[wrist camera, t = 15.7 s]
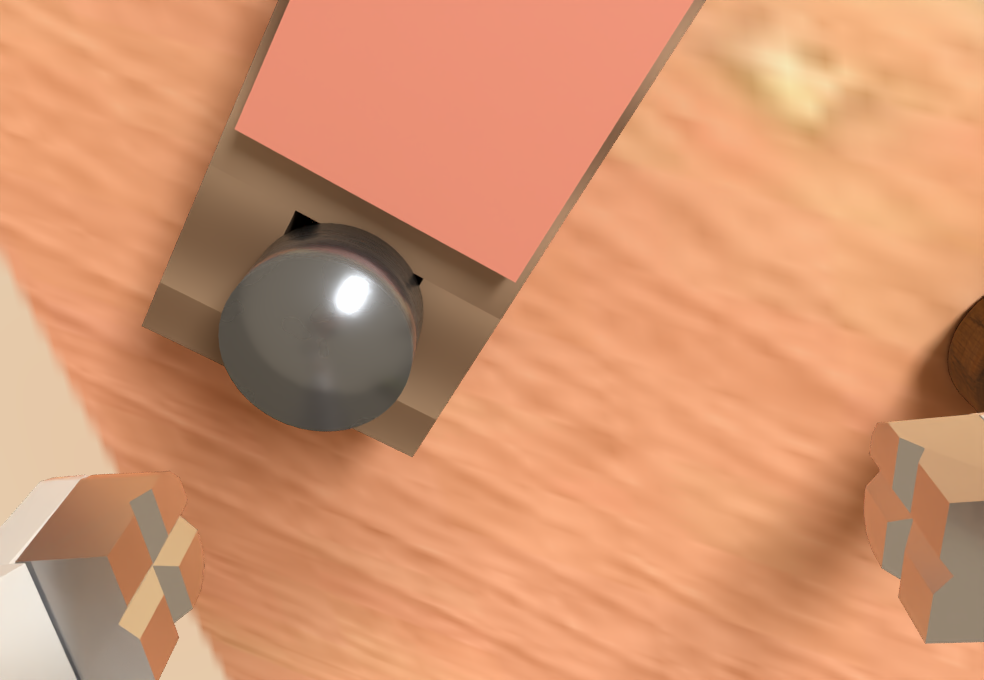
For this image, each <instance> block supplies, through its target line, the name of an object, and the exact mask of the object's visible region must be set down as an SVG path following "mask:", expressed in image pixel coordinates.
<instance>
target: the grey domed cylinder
mask: <svg viewBox="0 0 984 680" xmlns="http://www.w3.org/2000/svg"><path fill="white" fill-rule="evenodd" d="M423 313H424V307H423V298H422V294H421V290H420V286H419V284H418V281H417V279H416V277H415V275H414V273H413V271H412V269H411V268H410V266H409V265H408V264H407V262H406V261H405V259H404V258H403V257H402V256H401V255H400V254H399V253H398V252H397V251H396V250H395V249H394V248H393V247H392V246H390V245H389V244H388V243H387V242H385V241H384V240H382V239H381V238H379V237H377V236H376V235H374V234H372V233H369V232H367V231H365V230H362V229H360V228H357V227H354V226H349V225H344V224H336V223H318V224H312V225H306V226H303V227H300V228H297V229H294V230H292V231H290V232H288V233H286V234H284V235H283V236H281V237H280V238H278V239H277V240H276V241H275V242H273V243H272V244H271V245H270V246H269V247H268V248H267V249H266V251H265V252H264V253H263V254H262V255H261V257H260V258H259V259H258V260H257V262H256V263H255V264H254V266H253V267H252V268H251V269H250V271H249V272H248V273H247V274H246V276H245V277H244V278H243V279H242V281H241V282H240V283H239V284H238V286H237V287H236V288H235V289H234V291H233V292H232V293H231V295H230V297H229V298H228V300H227V302H226V304H225V306H224V309H223V311H222V314H221V318H220V323H219V334H218V337H219V348H220V352H221V357H222V360H223V363H224V365H225V368H226V370H227V372H228V374H229V376H230V378H231V380H232V381H233V382H234V384H235V385H236V387H237V388H238V390H239V391H240V392H241V393H242V394H243V395H244V396H245V397H246V398H247V399H248V400H249V401H250V402H251V403H252V404H253V405H254V406H256V407H257V408H258V409H260V410H261V411H263V412H264V413H265V414H267V415H269V416H271V417H272V418H274V419H276V420H278V421H281V422H283V423H285V424H288V425H291V426H294V427H297V428H301V429H307V430H312V431H339V430H346V429H350V428H354V427H358V426H360V425H363V424H365V423H368V422H370V421H372V420H373V419H375V418H377V417H379V416H380V415H381V414H383V413H384V412H385V411H386V410H388V409H389V408H390V407H391V406H392V405H393V404H394V403H395V401H396V400H397V399H398V397H399V396H400V395H401V393H402V391H403V389H404V387H405V385H406V383H407V380H408V378H409V375H410V371H411V367H412V363H413V359H414V356H415V352H416V348H417V344H418V340H419V336H420V332H421V328H422V323H423Z"/></svg>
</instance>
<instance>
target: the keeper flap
mask: <svg viewBox="0 0 984 680" xmlns="http://www.w3.org/2000/svg"><path fill="white" fill-rule="evenodd" d="M693 1H694V0H290V1H289V3H288V5H287V8H286V10H285V12H284V15H283V17H282V19H281V22H280V24H279V26H278V29H277V31H276V33H275V36H274V38H273V40H272V43H271V45H270V47H269V50H268V52H267V54H266V57H265V59H264V61H263V64H262V66H261V68H260V71H259V73H258V75H257V78H256V80H255V82H254V85H253V87H252V89H251V92H250V94H249V96H248V99H247V101H246V103H245V106H244V108H243V110H242V113H241V115H240V117H239V120H238V122H237V124H236V127H235V130H237V131H239V132H241V133H242V134H244V135H246V136H248V137H250V138H252V139H253V140H255V141H257V142H259V143H261V144H263V145H264V146H266V147H268V148H270V149H272V150H273V151H275V152H277V153H279V154H281V155H283V156H284V157H286V158H288V159H290V160H292V161H294V162H295V163H297V164H299V165H301V166H303V167H305V168H306V169H308V170H310V171H312V172H314V173H316V174H317V175H319V176H321V177H323V178H325V179H327V180H328V181H330V182H332V183H334V184H336V185H338V186H339V187H341V188H343V189H345V190H347V191H349V192H350V193H352V194H354V195H356V196H358V197H360V198H361V199H363V200H365V201H367V202H369V203H371V204H372V205H374V206H376V207H378V208H380V209H382V210H383V211H385V212H387V213H389V214H391V215H393V216H394V217H396V218H398V219H400V220H402V221H404V222H405V223H407V224H409V225H411V226H413V227H415V228H416V229H418V230H420V231H422V232H424V233H426V234H427V235H429V236H431V237H433V238H435V239H437V240H438V241H440V242H442V243H444V244H446V245H447V246H449V247H451V248H453V249H455V250H457V251H458V252H460V253H462V254H464V255H466V256H468V257H469V258H471V259H473V260H475V261H477V262H479V263H480V264H482V265H484V266H486V267H488V268H490V269H491V270H493V271H495V272H497V273H499V274H501V275H502V276H504V277H506V278H508V279H510V280H512V281H513V282H515V283H516V281H517V279H518V278H519V276H520V275H521V273H522V272H523V270H524V268H525V267H526V265H527V264H528V262H529V260H530V259H531V257H532V256H533V254H534V253H535V251H536V249H537V248H538V246H539V245H540V243H541V242H542V240H543V238H544V237H545V235H546V234H547V232H548V230H549V229H550V227H551V226H552V224H553V223H554V221H555V219H556V218H557V216H558V215H559V213H560V211H561V210H562V208H563V207H564V205H565V204H566V202H567V200H568V199H569V197H570V196H571V194H572V192H573V191H574V189H575V188H576V186H577V185H578V183H579V181H580V180H581V178H582V177H583V175H584V174H585V172H586V170H587V169H588V167H589V166H590V164H591V162H592V161H593V159H594V158H595V156H596V155H597V153H598V151H599V150H600V148H601V147H602V145H603V143H604V142H605V140H606V139H607V137H608V136H609V134H610V132H611V131H612V129H613V128H614V126H615V125H616V123H617V121H618V120H619V118H620V117H621V115H622V113H623V112H624V110H625V109H626V107H627V106H628V104H629V102H630V101H631V99H632V98H633V96H634V94H635V93H636V91H637V90H638V88H639V87H640V85H641V83H642V82H643V80H644V79H645V77H646V75H647V74H648V72H649V71H650V69H651V68H652V66H653V64H654V63H655V61H656V60H657V58H658V57H659V55H660V53H661V52H662V50H663V49H664V47H665V45H666V44H667V42H668V41H669V39H670V38H671V36H672V34H673V33H674V31H675V30H676V28H677V26H678V25H679V23H680V22H681V20H682V19H683V17H684V15H685V14H686V12H687V11H688V9H689V8H690V6H691V4H692V3H693Z"/></svg>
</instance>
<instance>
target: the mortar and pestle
mask: <svg viewBox="0 0 984 680" xmlns="http://www.w3.org/2000/svg"><path fill="white" fill-rule="evenodd" d="M948 368H949V373H950V376H951V379H952V381H953V383H954V385H955V387H956V388H957V390H958V391H959V392H960V394H961V395H962V396H963V397H964V398H965V399H966V400H967V401H968V402H969V403H970V404H971V405H972V406H973V407H974V408H975V409H976V410H977V412H978V413H983V412H984V298H983V299H981V300H980V301H979V302H978V303H977V304H976V305H975V306H974V307H973V308H972V309H971V310H970V311H969V312H968V313H967V315H966V316H965V317H964V319H963V320H962V321H961V323H960V324H959V326H958V328H957V329H956V331H955V334H954V336H953V338H952V341H951V345H950V348H949V354H948Z"/></svg>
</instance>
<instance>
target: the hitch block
mask: <svg viewBox="0 0 984 680" xmlns="http://www.w3.org/2000/svg"><path fill="white" fill-rule="evenodd" d="M289 1H290V0H278V2H277V4H276V7H275V9H274V12H273V14H272V16H271V19H270V21H269V24H268V26H267V28H266V31H265V33H264V35H263V38H262V40H261V43H260V45H259V47H258V50H257V52H256V55H255V57H254V59H253V62H252V64H251V66H250V69H249V71H248V74H247V76H246V78H245V81H244V83H243V86H242V88H241V90H240V93H239V95H238V98H237V100H236V102H235V105H234V107H233V109H232V112H231V114H230V117H229V119H228V121H227V124H226V126H225V129H224V131H223V133H222V136H221V138H220V140H219V143H218V145H217V148H216V150H215V152H214V155H213V157H212V160H211V162H210V164H209V167H208V169H207V171H206V174H205V176H204V179H203V181H202V183H201V186H200V188H199V191H198V193H197V195H196V198H195V200H194V202H193V205H192V207H191V210H190V212H189V214H188V217H187V219H186V222H185V224H184V226H183V229H182V231H181V233H180V236H179V238H178V241H177V243H176V245H175V248H174V250H173V253H172V255H171V257H170V260H169V262H168V265H167V267H166V269H165V272H164V274H163V276H162V279H161V281H160V284H159V286H158V288H157V291H156V293H155V296H154V298H153V300H152V303H151V305H150V307H149V310H148V312H147V315H146V317H145V319H144V322H143V324H142V326H143V327H145V328H147V329H149V330H151V331H153V332H155V333H157V334H159V335H161V336H163V337H165V338H167V339H170V340H172V341H174V342H176V343H178V344H180V345H182V346H184V347H186V348H188V349H190V350H192V351H194V352H196V353H198V354H200V355H203V356H205V357H207V358H209V359H211V360H213V361H215V362H217V363H219V364H221V365H223V366H225V365H224V363H223V360H222V357H221V352H220V348H219V337H218V334H219V323H220V318H221V314H222V311H223V309H224V306H225V304H226V302H227V300H228V298H229V297H230V295H231V293H232V292H233V291H234V289H235V288H236V287H237V286H238V284H239V283H240V282H241V281H242V279H243V278H244V277H245V276H246V274H247V273H248V272H249V271H250V269H251V268H252V267H253V266H254V264H255V263H256V262H257V260H258V259H259V258H260V257H261V255H262V254H263V253H264V252H265V251H266V249H267V248H268V247H269V246H270V245H271V244H272V243H273V242H275V241H276V240H277V239H278V238H280V237H281V236H283V235H284V234H286V233H288V232H290V231H292V230H294V229H297V228H300V227H303V226H304V224H305V222H306V220H307V218H308V217H309V218H311V219H313V220H315V221H317V222H318V223H336V224H344V225H349V226H354V227H357V228H360V229H362V230H365V231H367V232H369V233H372V234H374V235H376V236H377V237H379V238H381V239H382V240H384V241H385V242H387V243H388V244H389V245H390V246H392V247H393V248H394V249H395V250H396V251H397V252H398V253H399V254H400V255H401V256H402V257H403V258H404V259H405V261H406V262H407V264H408V265H409V266H410V268H411V269H412V271H413V273H414V275H415V277H416V279H417V281H418V284H419V286H420V290H421V294H422V298H423V307H424V313H423V323H422V328H421V332H420V336H419V340H418V344H417V348H416V352H415V356H414V359H413V363H412V367H411V371H410V375H409V378H408V380H407V383H406V385H405V387H404V389H403V391H402V393H401V395H400V396H399V397H398V399H397V400H396V401H395V403H394V404H393V405H392V406H391V407H390V408H389V409H388V410H386V411H385V412H384V413H383V414H381V415H380V416H379V417H377V418H375V419H373V420H372V421H370V422H368V423H365V424H363V425H360V426H358V427H354V428H353V429H355V430H357V431H359V432H361V433H363V434H365V435H367V436H370V437H372V438H374V439H376V440H378V441H380V442H382V443H384V444H386V445H388V446H390V447H392V448H394V449H396V450H398V451H400V452H402V453H405V454H407V455H409V456H411V457H413V456H414V454H415V453H416V451H417V449H418V448H419V446H420V445H421V443H422V442H423V440H424V439H425V437H426V435H427V434H428V432H429V431H430V429H431V428H432V426H433V425H434V423H435V421H436V420H437V418H438V417H439V415H440V414H441V412H442V410H443V409H444V407H445V406H446V404H447V403H448V401H449V400H450V398H451V396H452V395H453V393H454V392H455V390H456V389H457V387H458V386H459V384H460V382H461V381H462V379H463V378H464V376H465V375H466V373H467V372H468V370H469V368H470V367H471V365H472V364H473V362H474V361H475V359H476V358H477V356H478V354H479V353H480V351H481V350H482V348H483V347H484V345H485V344H486V342H487V340H488V339H489V337H490V336H491V334H492V333H493V331H494V330H495V328H496V326H497V325H498V323H499V322H500V320H501V319H502V317H503V316H504V314H505V312H506V311H507V309H508V308H509V306H510V305H511V303H512V302H513V300H514V298H515V297H516V295H517V294H518V292H519V291H520V289H521V288H522V286H523V284H524V283H525V281H526V280H527V278H528V277H529V275H530V274H531V272H532V270H533V269H534V267H535V266H536V264H537V263H538V261H539V260H540V258H541V256H542V255H543V253H544V252H545V250H546V249H547V247H548V246H549V244H550V242H551V241H552V239H553V238H554V236H555V235H556V233H557V232H558V230H559V228H560V227H561V225H562V224H563V222H564V221H565V219H566V218H567V216H568V214H569V213H570V211H571V210H572V208H573V207H574V205H575V203H576V202H577V200H578V199H579V197H580V196H581V194H582V193H583V191H584V189H585V188H586V186H587V185H588V183H589V182H590V180H591V179H592V177H593V175H594V174H595V172H596V171H597V169H598V168H599V166H600V165H601V163H602V161H603V160H604V158H605V157H606V155H607V154H608V152H609V151H610V149H611V147H612V146H613V144H614V143H615V141H616V140H617V138H618V137H619V135H620V133H621V132H622V130H623V129H624V127H625V126H626V124H627V123H628V121H629V119H630V118H631V116H632V115H633V113H634V112H635V110H636V109H637V107H638V105H639V104H640V102H641V101H642V99H643V98H644V96H645V95H646V93H647V91H648V90H649V88H650V87H651V85H652V84H653V82H654V81H655V79H656V77H657V76H658V74H659V73H660V71H661V70H662V68H663V67H664V65H665V63H666V62H667V60H668V59H669V57H670V56H671V54H672V53H673V51H674V49H675V48H676V46H677V45H678V43H679V42H680V40H681V39H682V37H683V35H684V34H685V32H686V31H687V29H688V28H689V26H690V25H691V23H692V21H693V20H694V18H695V17H696V15H697V14H698V12H699V10H700V9H701V7H702V6H703V4H704V3H705V1H706V0H694V1H693V3H692V4H691V6H690V8H689V9H688V11H687V12H686V14H685V15H684V17H683V19H682V20H681V22H680V23H679V25H678V26H677V28H676V30H675V31H674V33H673V34H672V36H671V38H670V39H669V41H668V42H667V44H666V45H665V47H664V49H663V50H662V52H661V53H660V55H659V57H658V58H657V60H656V61H655V63H654V64H653V66H652V68H651V69H650V71H649V72H648V74H647V75H646V77H645V79H644V80H643V82H642V83H641V85H640V87H639V88H638V90H637V91H636V93H635V94H634V96H633V98H632V99H631V101H630V102H629V104H628V106H627V107H626V109H625V110H624V112H623V113H622V115H621V117H620V118H619V120H618V121H617V123H616V125H615V126H614V128H613V129H612V131H611V132H610V134H609V136H608V137H607V139H606V140H605V142H604V143H603V145H602V147H601V148H600V150H599V151H598V153H597V155H596V156H595V158H594V159H593V161H592V162H591V164H590V166H589V167H588V169H587V170H586V172H585V174H584V175H583V177H582V178H581V180H580V181H579V183H578V185H577V186H576V188H575V189H574V191H573V192H572V194H571V196H570V197H569V199H568V200H567V202H566V204H565V205H564V207H563V208H562V210H561V211H560V213H559V215H558V216H557V218H556V219H555V221H554V223H553V224H552V226H551V227H550V229H549V230H548V232H547V234H546V235H545V237H544V238H543V240H542V242H541V243H540V245H539V246H538V248H537V249H536V251H535V253H534V254H533V256H532V257H531V259H530V260H529V262H528V264H527V265H526V267H525V268H524V270H523V272H522V273H521V275H520V276H519V278H518V279H517V281H516V283H515V282H513V281H512V280H510V279H508V278H506V277H504V276H502V275H501V274H499V273H497V272H495V271H493V270H491V269H490V268H488V267H486V266H484V265H482V264H480V263H479V262H477V261H475V260H473V259H471V258H469V257H468V256H466V255H464V254H462V253H460V252H458V251H457V250H455V249H453V248H451V247H449V246H447V245H446V244H444V243H442V242H440V241H438V240H437V239H435V238H433V237H431V236H429V235H427V234H426V233H424V232H422V231H420V230H418V229H416V228H415V227H413V226H411V225H409V224H407V223H405V222H404V221H402V220H400V219H398V218H396V217H394V216H393V215H391V214H389V213H387V212H385V211H383V210H382V209H380V208H378V207H376V206H374V205H372V204H371V203H369V202H367V201H365V200H363V199H361V198H360V197H358V196H356V195H354V194H352V193H350V192H349V191H347V190H345V189H343V188H341V187H339V186H338V185H336V184H334V183H332V182H330V181H328V180H327V179H325V178H323V177H321V176H319V175H317V174H316V173H314V172H312V171H310V170H308V169H306V168H305V167H303V166H301V165H299V164H297V163H295V162H294V161H292V160H290V159H288V158H286V157H284V156H283V155H281V154H279V153H277V152H275V151H273V150H272V149H270V148H268V147H266V146H264V145H263V144H261V143H259V142H257V141H255V140H253V139H252V138H250V137H248V136H246V135H244V134H242V133H241V132H239V131H237V130H235V127H236V124H237V122H238V120H239V117H240V115H241V113H242V110H243V108H244V106H245V103H246V101H247V99H248V96H249V94H250V92H251V89H252V87H253V85H254V82H255V80H256V78H257V75H258V73H259V71H260V68H261V66H262V64H263V61H264V59H265V57H266V54H267V52H268V50H269V47H270V45H271V43H272V40H273V38H274V36H275V33H276V31H277V29H278V26H279V24H280V22H281V19H282V17H283V15H284V12H285V10H286V8H287V5H288V3H289Z"/></svg>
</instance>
